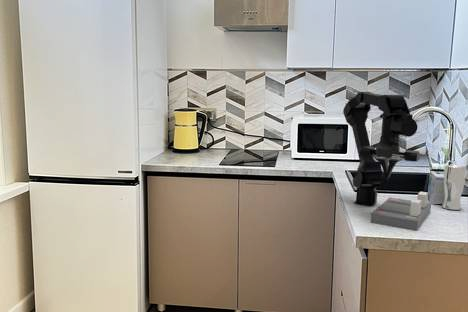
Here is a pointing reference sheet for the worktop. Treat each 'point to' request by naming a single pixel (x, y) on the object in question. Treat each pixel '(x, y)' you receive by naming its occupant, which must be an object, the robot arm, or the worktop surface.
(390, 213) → the switch panel
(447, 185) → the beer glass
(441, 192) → the light bulb box
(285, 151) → the worktop surface
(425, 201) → the off-white block
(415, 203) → the off-white switch lever
